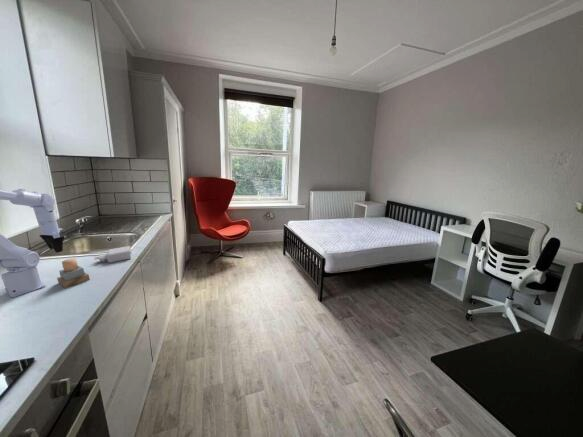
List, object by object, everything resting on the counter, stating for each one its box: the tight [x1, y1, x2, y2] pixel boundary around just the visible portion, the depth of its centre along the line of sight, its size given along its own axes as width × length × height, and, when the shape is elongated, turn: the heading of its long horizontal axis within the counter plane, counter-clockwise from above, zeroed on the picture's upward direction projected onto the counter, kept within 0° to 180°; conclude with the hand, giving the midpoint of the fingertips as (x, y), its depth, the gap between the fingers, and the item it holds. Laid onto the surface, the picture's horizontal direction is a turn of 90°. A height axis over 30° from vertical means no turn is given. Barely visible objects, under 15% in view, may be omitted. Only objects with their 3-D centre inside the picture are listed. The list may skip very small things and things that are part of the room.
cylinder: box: [61, 258, 79, 272], centre depth 100 cm, size 4×4×4 cm
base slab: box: [56, 271, 91, 289], centre depth 101 cm, size 8×8×3 cm
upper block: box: [59, 265, 86, 281], centre depth 101 cm, size 6×6×3 cm
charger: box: [93, 245, 132, 263], centre depth 123 cm, size 5×9×15 cm
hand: (56, 250), depth 108 cm, fingers open, 7 cm apart
